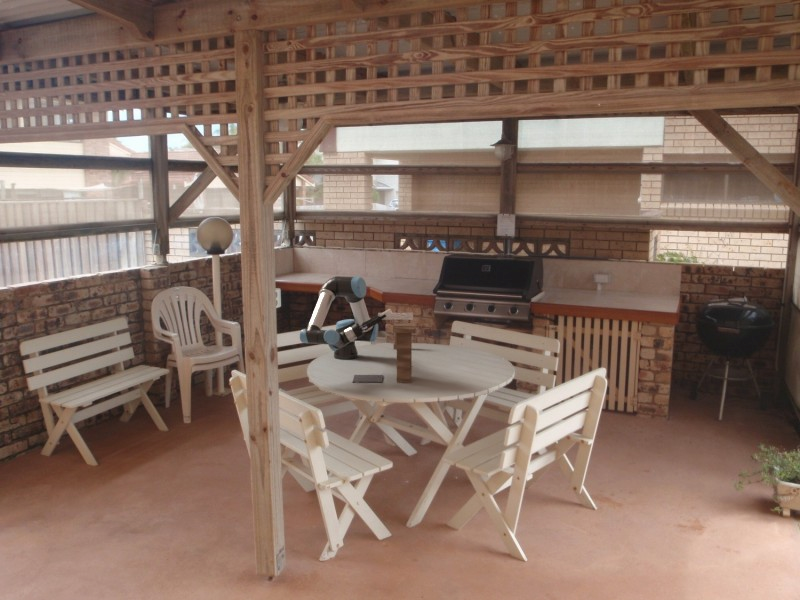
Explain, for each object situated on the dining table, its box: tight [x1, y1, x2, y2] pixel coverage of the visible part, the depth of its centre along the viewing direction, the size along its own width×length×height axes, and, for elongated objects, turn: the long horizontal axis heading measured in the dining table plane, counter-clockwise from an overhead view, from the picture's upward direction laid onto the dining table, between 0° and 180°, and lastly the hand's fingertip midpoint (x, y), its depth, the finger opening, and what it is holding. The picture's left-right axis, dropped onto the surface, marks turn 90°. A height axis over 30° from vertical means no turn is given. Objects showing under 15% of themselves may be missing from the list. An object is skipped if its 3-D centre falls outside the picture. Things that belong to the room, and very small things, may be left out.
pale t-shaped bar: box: [377, 311, 414, 321], centre depth 375 cm, size 6×19×3 cm, turn 89°
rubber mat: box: [352, 374, 384, 384], centre depth 381 cm, size 14×16×1 cm
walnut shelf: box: [392, 322, 416, 383], centre depth 379 cm, size 16×12×30 cm
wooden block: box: [393, 320, 401, 350], centre depth 453 cm, size 4×11×18 cm, turn 81°
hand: (391, 311), depth 375 cm, fingers closed on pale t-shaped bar, 4 cm apart
